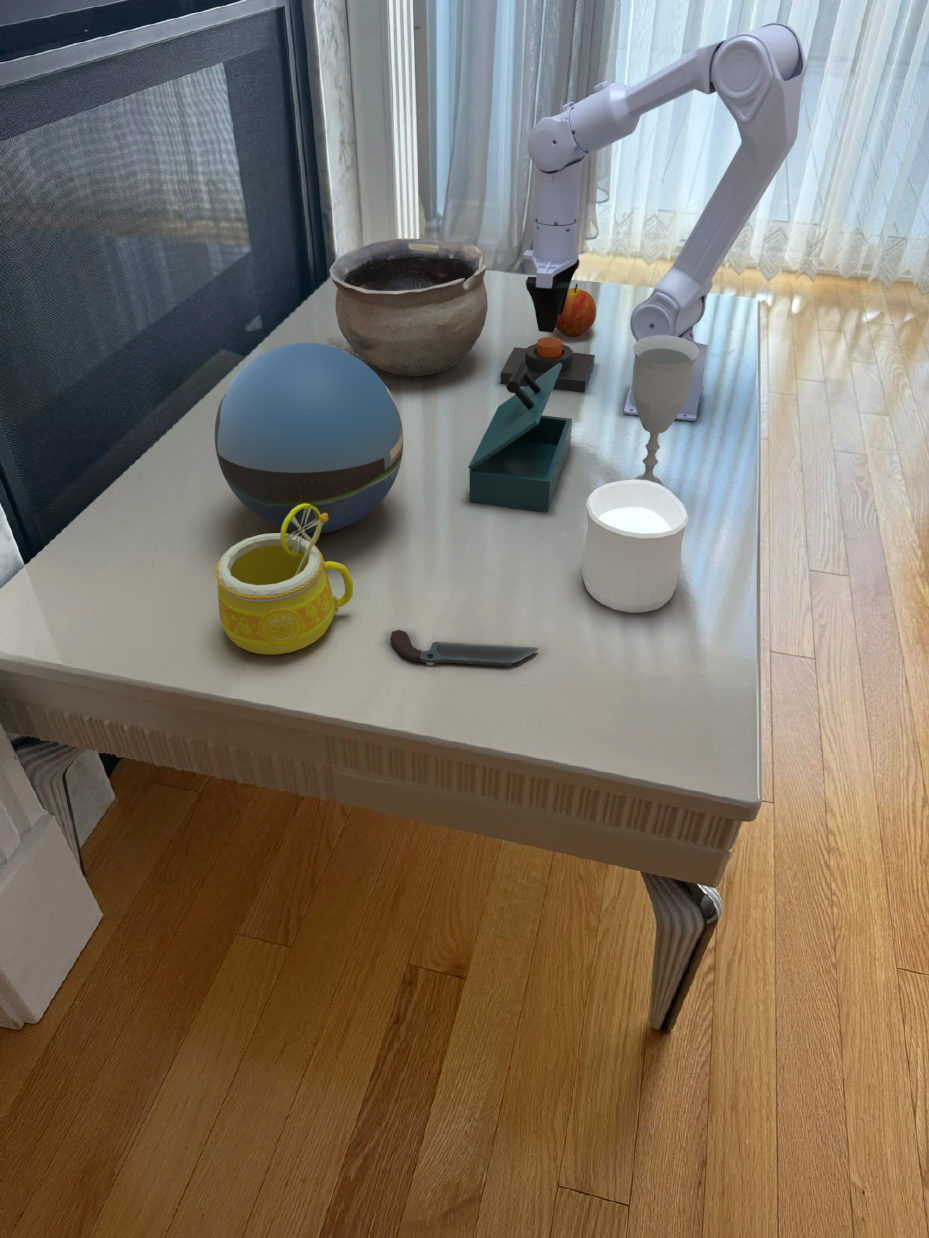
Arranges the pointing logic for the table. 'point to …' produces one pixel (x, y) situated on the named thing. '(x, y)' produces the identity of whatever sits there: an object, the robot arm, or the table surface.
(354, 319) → the ceramic bowl
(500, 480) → the open box
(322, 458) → the decorative sphere
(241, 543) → the mug
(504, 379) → the switch base
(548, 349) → the switch button
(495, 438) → the teal panel with handle
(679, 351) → the chalice
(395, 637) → the knife
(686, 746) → the table surface
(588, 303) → the fruit
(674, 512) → the cup
